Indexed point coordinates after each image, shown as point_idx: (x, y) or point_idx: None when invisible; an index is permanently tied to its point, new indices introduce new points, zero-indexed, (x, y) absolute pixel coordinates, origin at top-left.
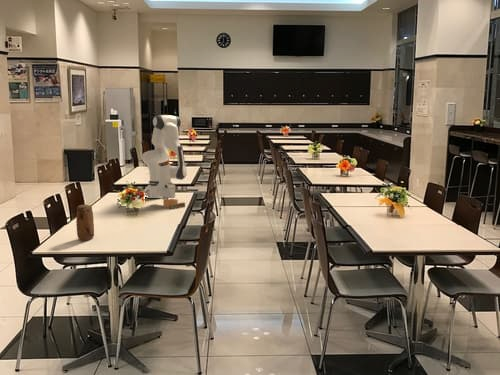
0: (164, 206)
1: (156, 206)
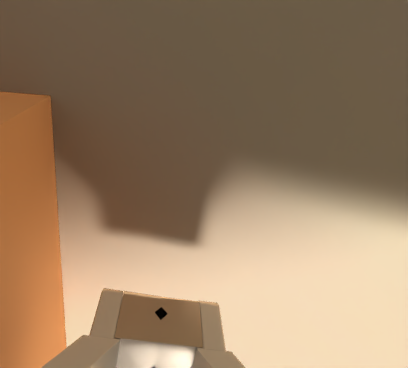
0: (4, 96)
1: (267, 18)
